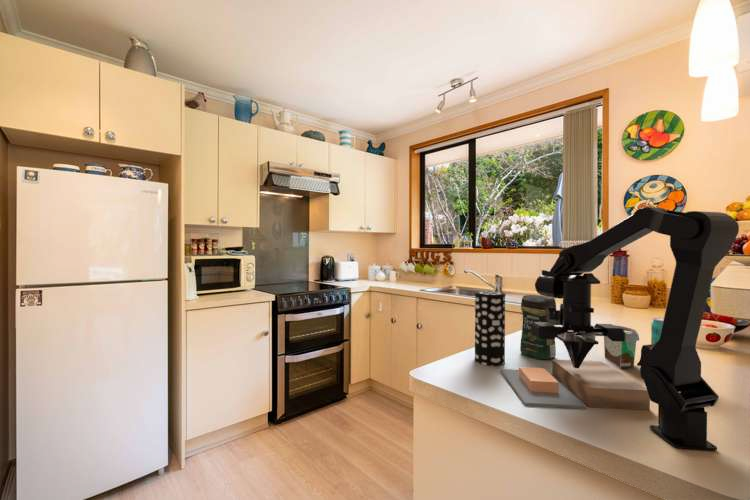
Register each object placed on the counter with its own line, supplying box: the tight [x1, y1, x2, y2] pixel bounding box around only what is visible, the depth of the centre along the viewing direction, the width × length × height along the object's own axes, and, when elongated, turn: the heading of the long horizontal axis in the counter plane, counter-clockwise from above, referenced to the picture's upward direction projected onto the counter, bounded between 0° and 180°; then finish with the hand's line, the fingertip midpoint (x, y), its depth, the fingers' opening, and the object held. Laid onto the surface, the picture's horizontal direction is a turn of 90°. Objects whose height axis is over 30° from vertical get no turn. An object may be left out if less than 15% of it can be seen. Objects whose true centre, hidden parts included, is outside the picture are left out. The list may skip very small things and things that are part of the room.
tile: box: [518, 366, 560, 393], centre depth 81 cm, size 9×6×2 cm, turn 173°
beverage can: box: [650, 317, 664, 344], centre depth 87 cm, size 6×6×15 cm
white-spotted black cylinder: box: [474, 290, 506, 367], centre depth 99 cm, size 8×8×20 cm
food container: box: [603, 324, 640, 370], centre depth 97 cm, size 12×6×10 cm, turn 168°
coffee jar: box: [519, 294, 558, 360], centre depth 105 cm, size 10×8×19 cm
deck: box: [551, 358, 651, 411], centre depth 79 cm, size 18×12×4 cm, turn 174°
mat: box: [499, 368, 586, 410], centre depth 81 cm, size 20×12×1 cm, turn 174°
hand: (576, 367), depth 80 cm, fingers closed
